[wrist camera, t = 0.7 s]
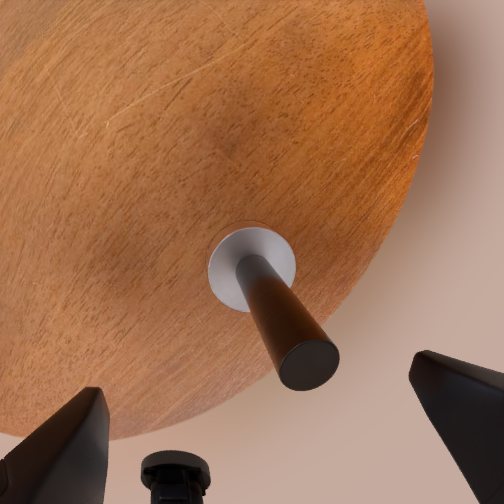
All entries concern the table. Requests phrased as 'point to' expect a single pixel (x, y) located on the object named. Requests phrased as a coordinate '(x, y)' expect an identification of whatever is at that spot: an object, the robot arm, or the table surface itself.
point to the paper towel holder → (271, 301)
